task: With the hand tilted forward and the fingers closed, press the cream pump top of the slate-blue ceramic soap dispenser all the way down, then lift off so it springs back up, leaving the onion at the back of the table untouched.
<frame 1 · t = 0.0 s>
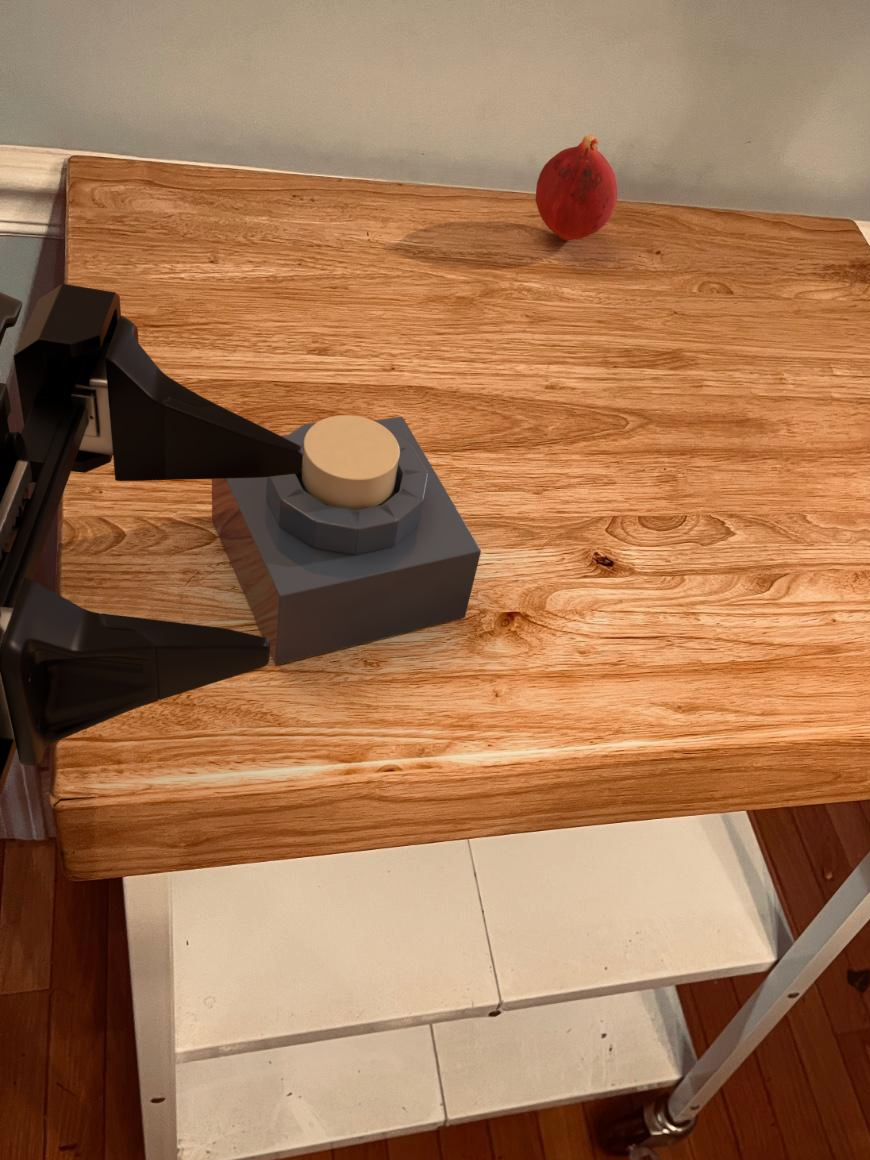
hand: (287, 549, 42), 15 cm above the kitchen cart, tool horizontal, fingers open, 9 cm apart
dispenser: (338, 569, 61), on the kitchen cart
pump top: (350, 462, 56), point 8 cm above the kitchen cart, slide at 0.1 cm
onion: (564, 241, 87), on the kitchen cart
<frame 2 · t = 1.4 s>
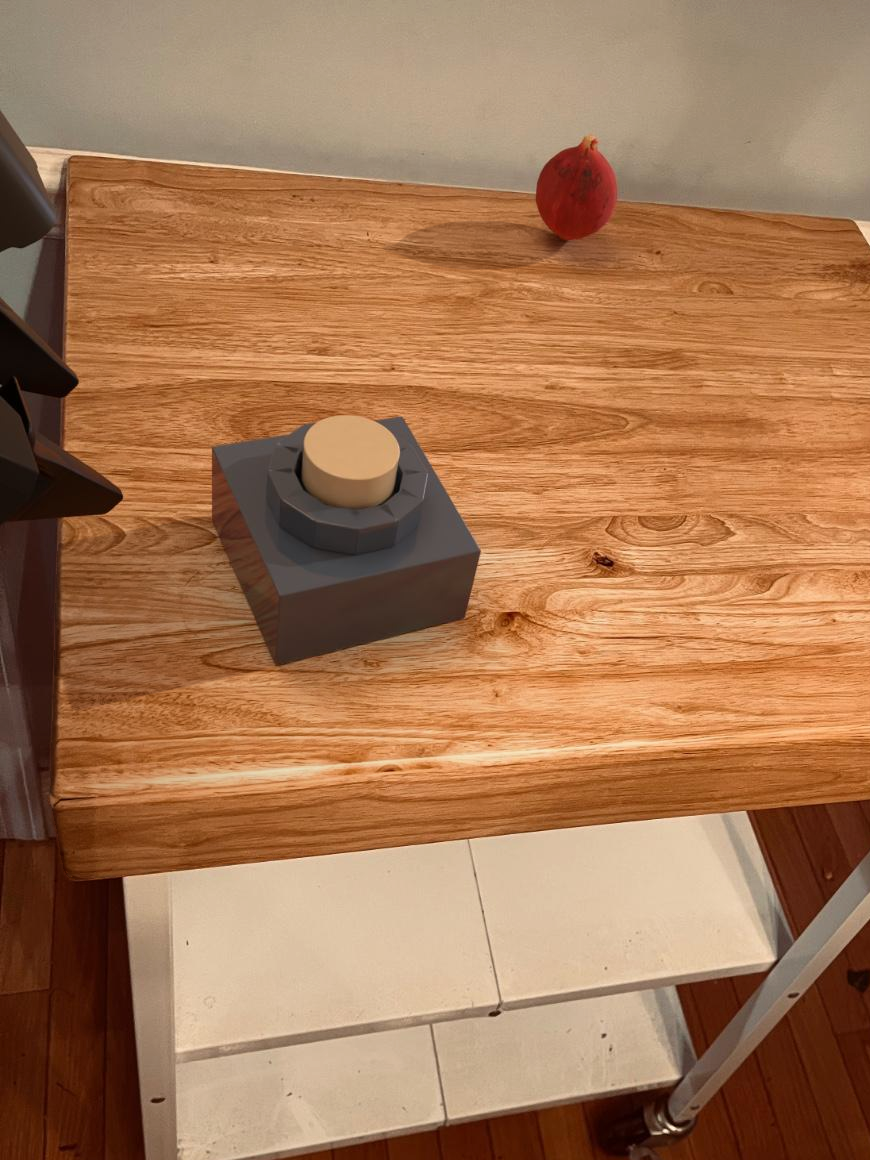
hand: (92, 443, 46), 13 cm above the kitchen cart, tool tilted 45°, fingers open, 6 cm apart
nothing on the kitchen cart moved.
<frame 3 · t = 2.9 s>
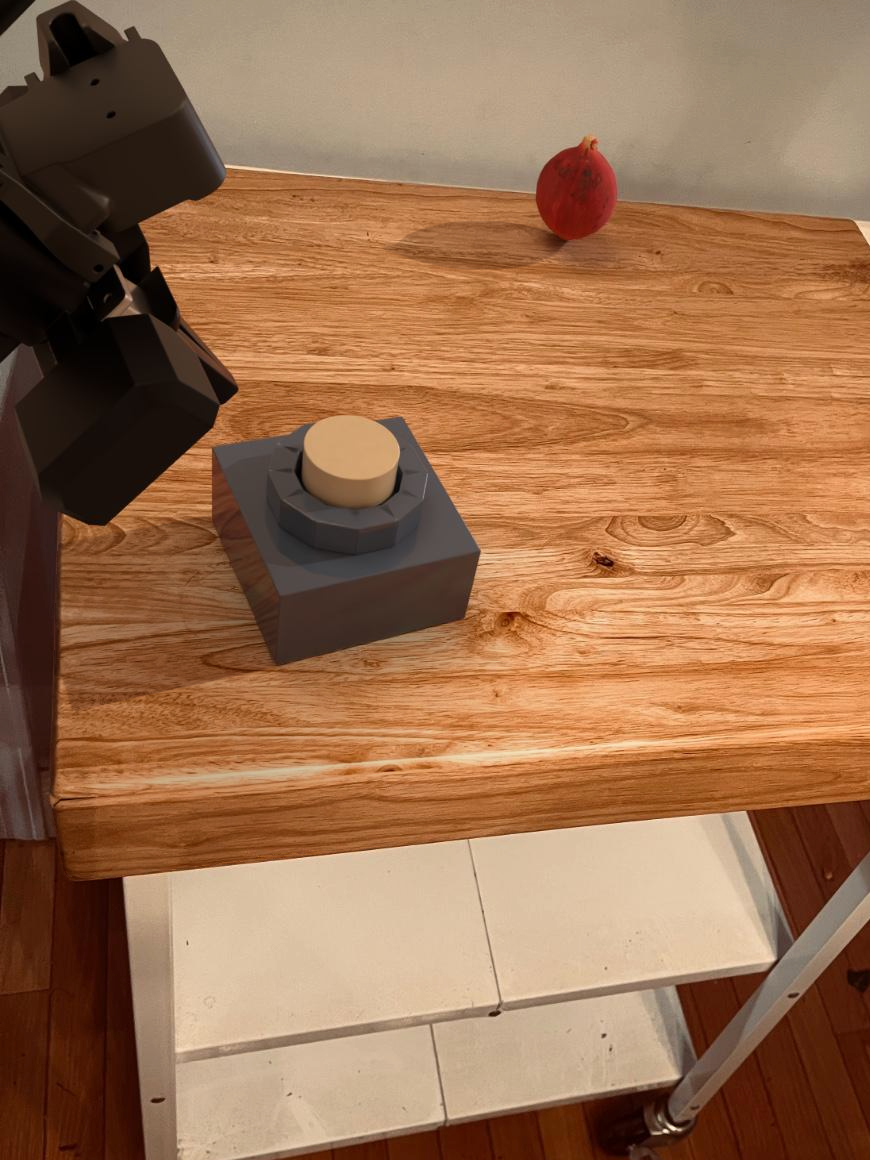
hand: (229, 391, 49), 13 cm above the kitchen cart, tool tilted 45°, fingers closed
nothing on the kitchen cart moved.
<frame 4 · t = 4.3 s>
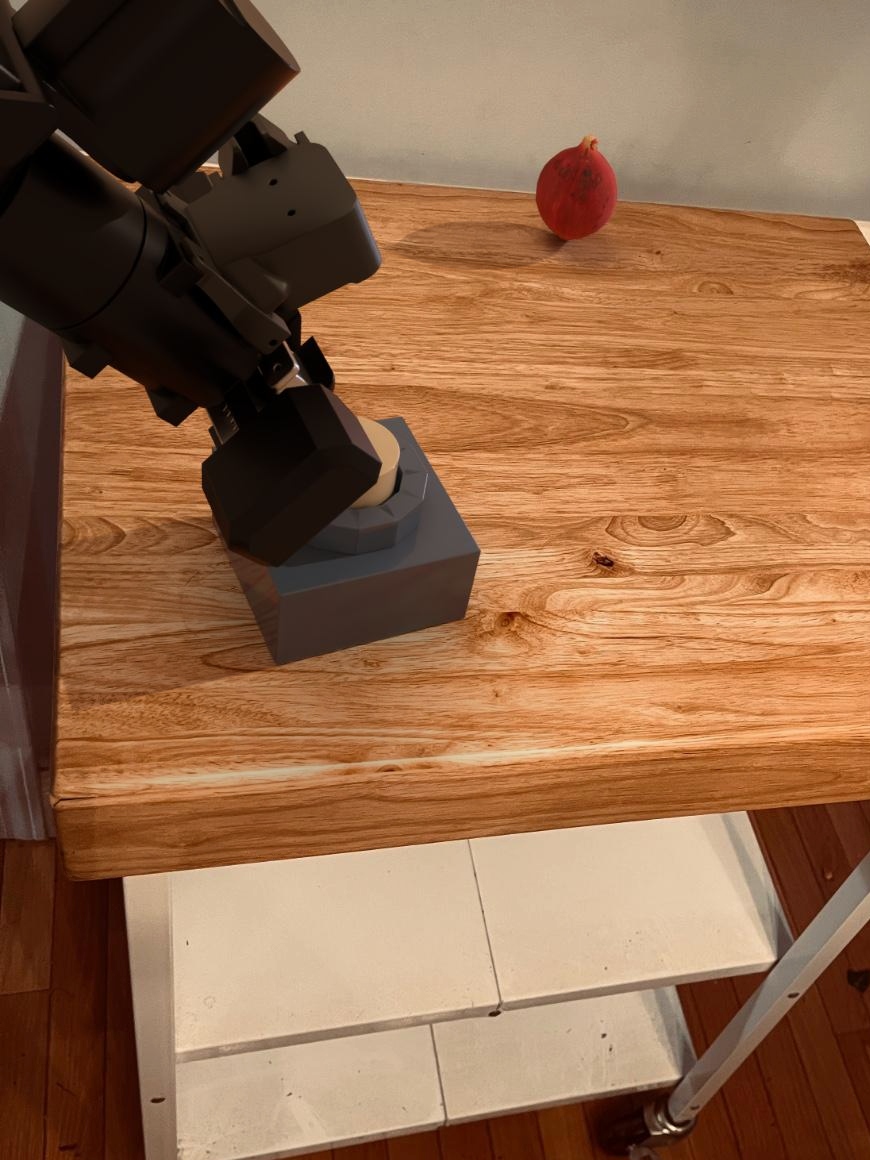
hand: (355, 440, 55), 9 cm above the kitchen cart, tool tilted 45°, fingers closed, pressing on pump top
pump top: (350, 462, 56), point 8 cm above the kitchen cart, slide at 0.0 cm, touching gripper
everything else where it was.
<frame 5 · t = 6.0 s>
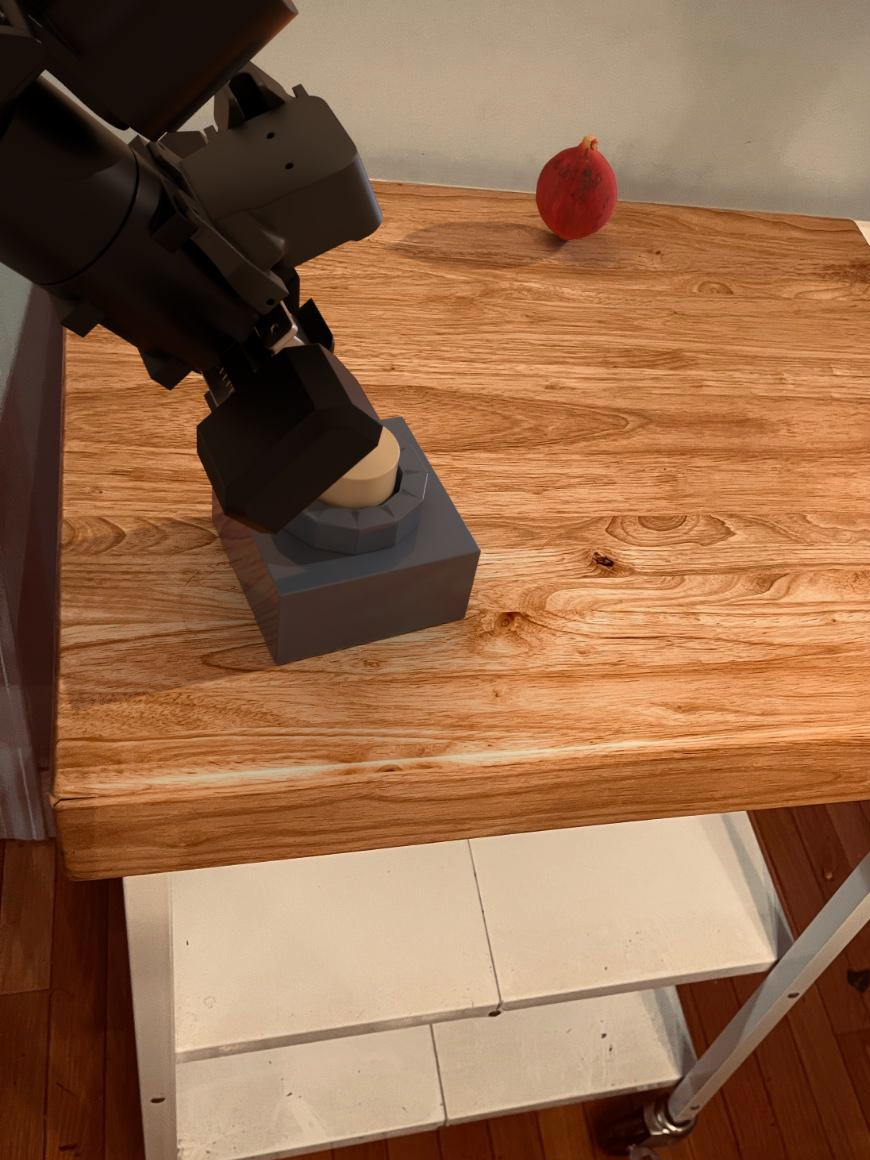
hand: (355, 410, 54), 11 cm above the kitchen cart, tool tilted 45°, fingers closed
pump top: (350, 462, 56), point 8 cm above the kitchen cart, slide at 0.1 cm
everything else where it was.
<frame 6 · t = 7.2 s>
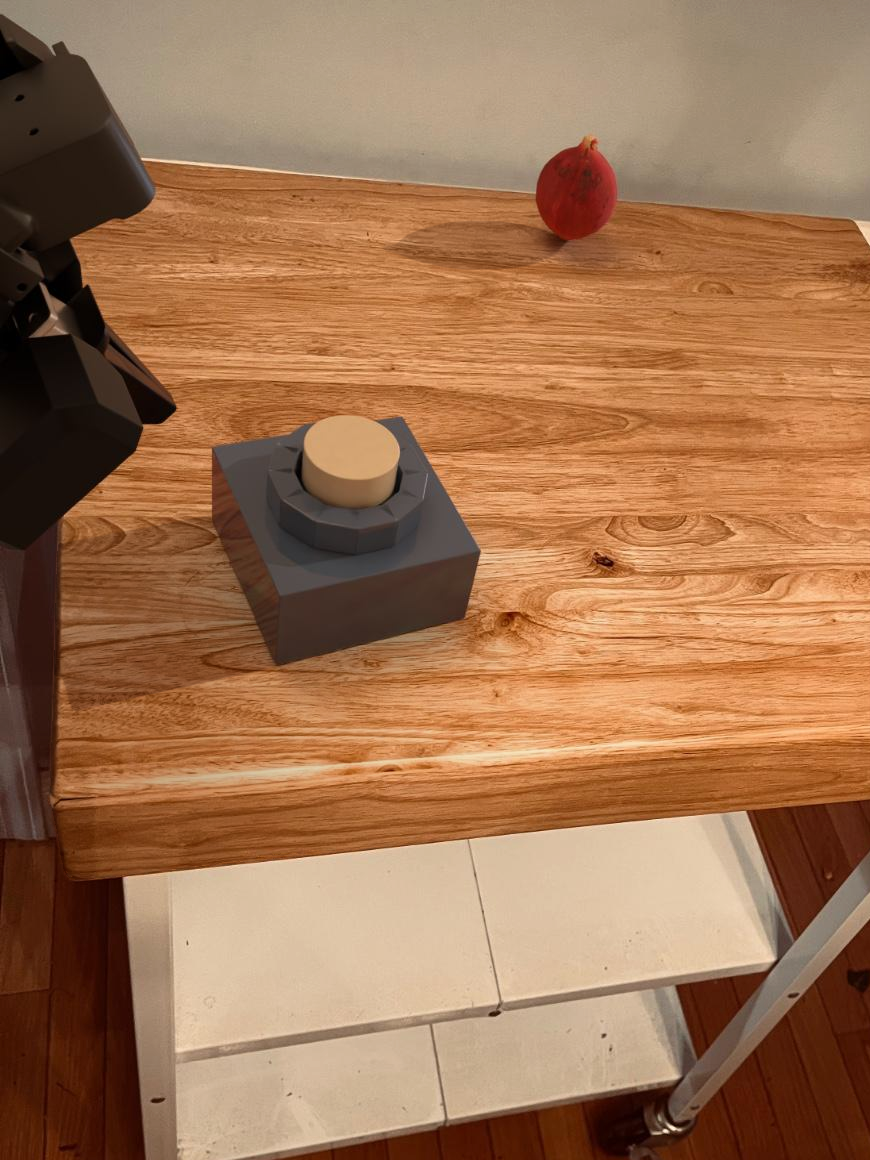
hand: (167, 410, 48), 12 cm above the kitchen cart, tool tilted 45°, fingers closed
nothing on the kitchen cart moved.
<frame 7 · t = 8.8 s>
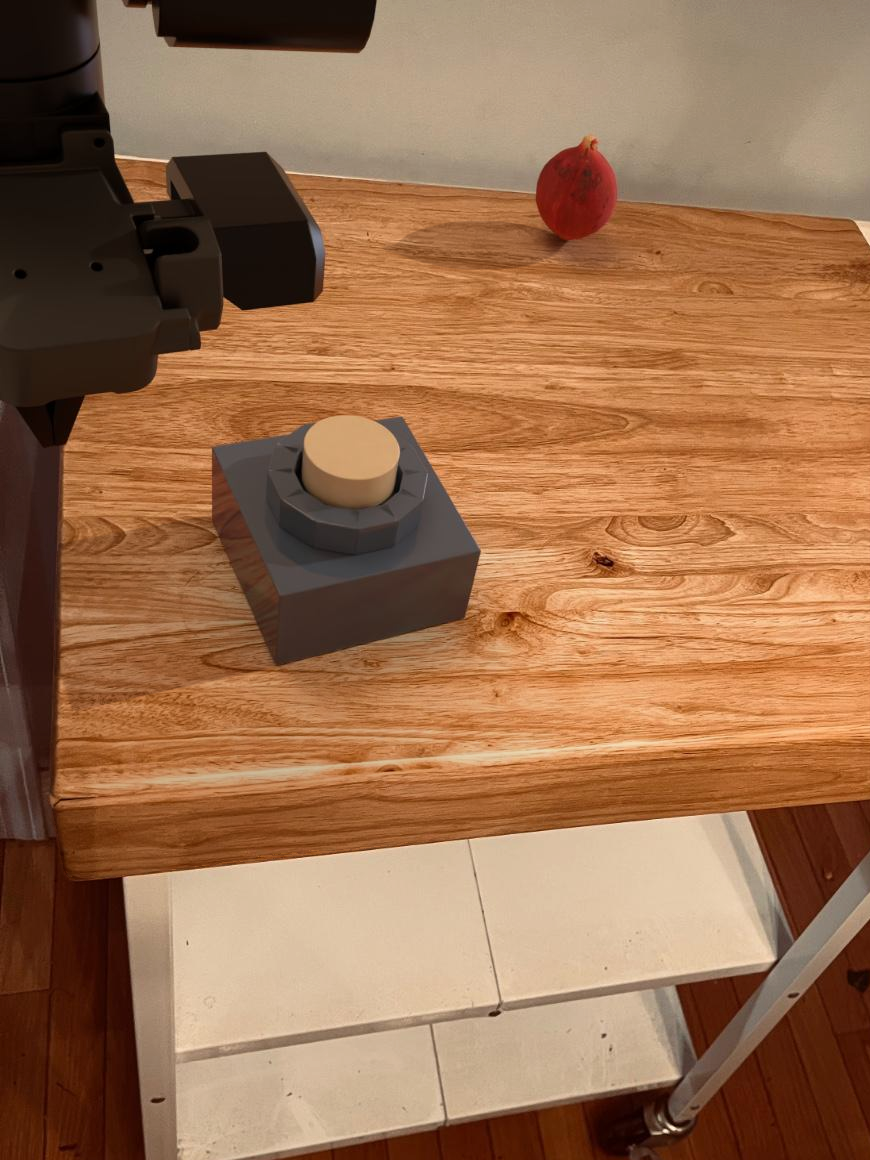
hand: (51, 439, 45), 13 cm above the kitchen cart, tool pointing down, fingers closed
nothing on the kitchen cart moved.
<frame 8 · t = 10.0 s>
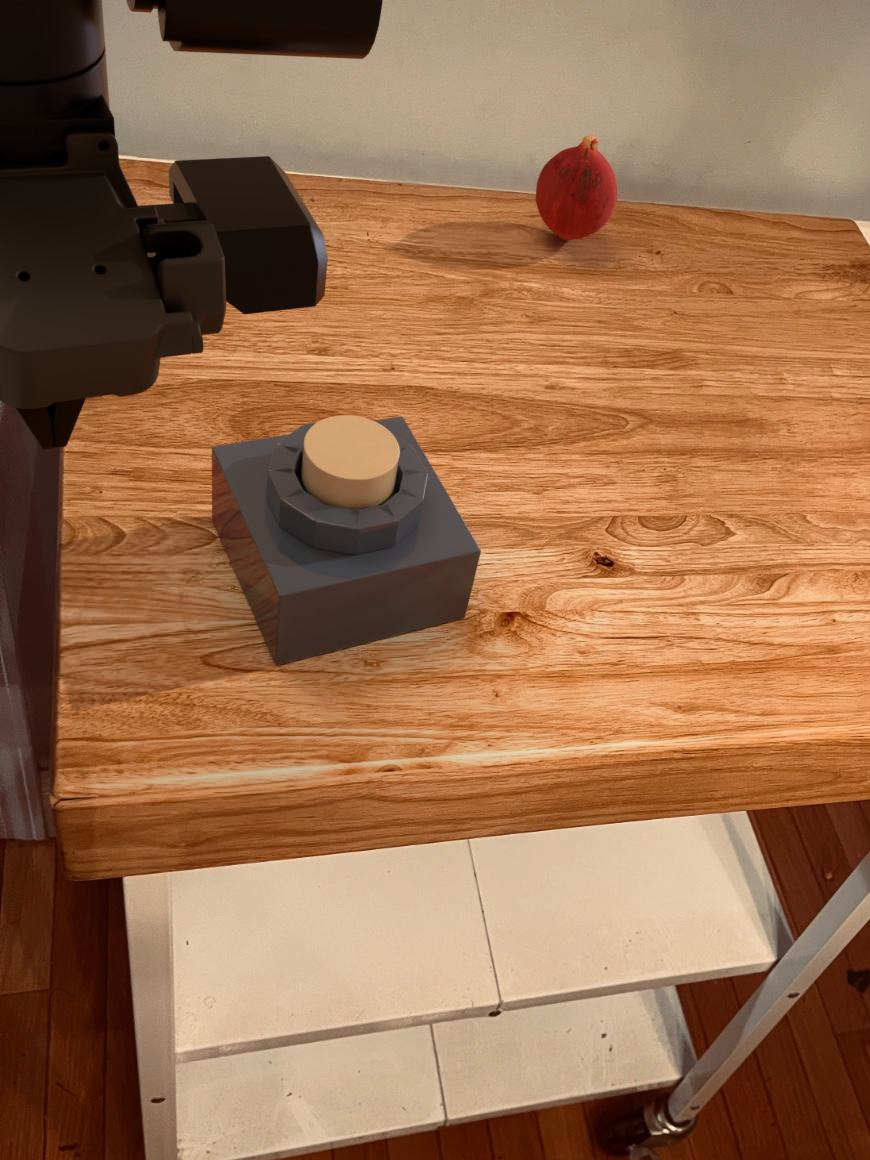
hand: (52, 441, 45), 13 cm above the kitchen cart, tool pointing down, fingers closed
nothing on the kitchen cart moved.
at the end: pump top pushed in 1.2 cm at the most during the clip, back to where it started at the end; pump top slide at 0.1 cm; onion moved 0.2 cm from its start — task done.
